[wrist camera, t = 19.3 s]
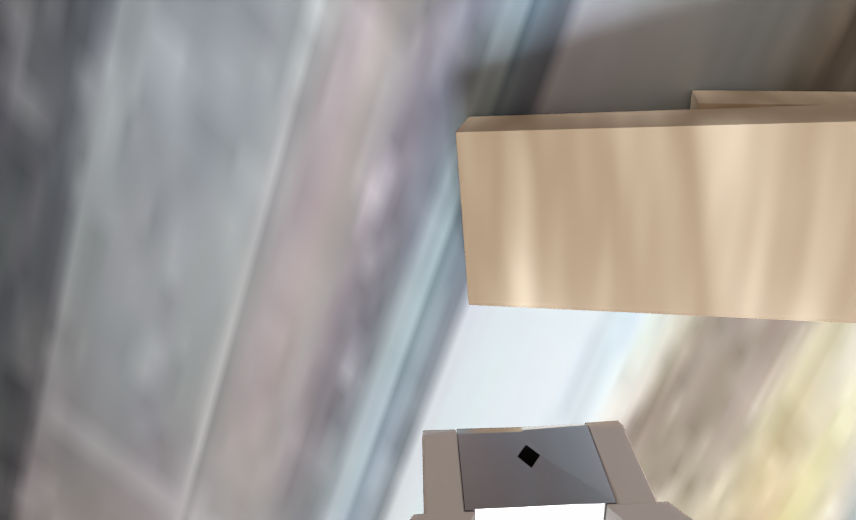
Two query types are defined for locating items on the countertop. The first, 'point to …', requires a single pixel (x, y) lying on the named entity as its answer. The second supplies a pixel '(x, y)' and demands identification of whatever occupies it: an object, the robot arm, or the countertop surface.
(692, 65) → the countertop surface
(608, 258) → the domino
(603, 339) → the countertop surface
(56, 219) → the countertop surface
